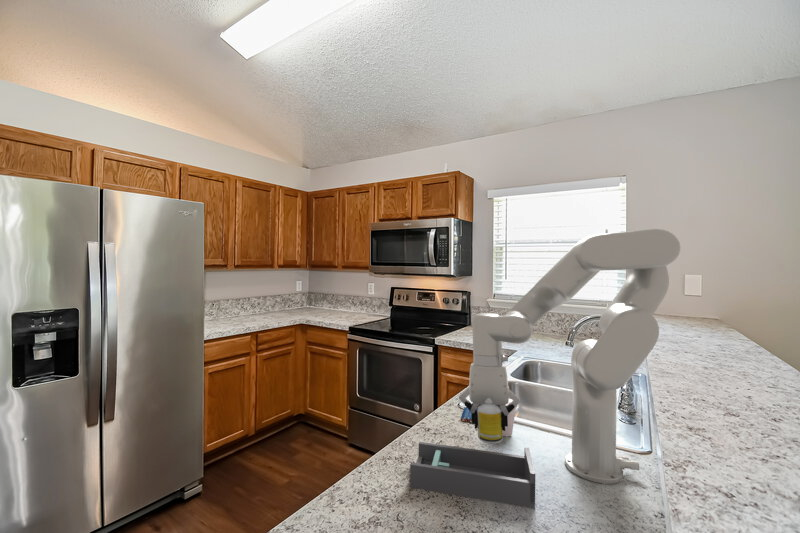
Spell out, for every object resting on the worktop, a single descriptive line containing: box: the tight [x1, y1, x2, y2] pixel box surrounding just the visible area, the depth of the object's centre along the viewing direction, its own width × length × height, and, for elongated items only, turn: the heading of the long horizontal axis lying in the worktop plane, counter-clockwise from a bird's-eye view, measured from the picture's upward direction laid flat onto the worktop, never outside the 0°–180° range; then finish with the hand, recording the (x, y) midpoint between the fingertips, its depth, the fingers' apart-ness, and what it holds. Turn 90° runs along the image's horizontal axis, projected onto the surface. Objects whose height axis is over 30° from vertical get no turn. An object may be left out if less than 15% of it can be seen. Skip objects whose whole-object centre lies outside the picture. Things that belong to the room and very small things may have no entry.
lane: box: [409, 441, 536, 510], centre depth 80 cm, size 26×11×7 cm, turn 76°
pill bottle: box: [477, 398, 504, 445], centre depth 94 cm, size 6×6×12 cm
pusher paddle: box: [432, 450, 449, 468], centre depth 82 cm, size 4×8×3 cm, turn 166°
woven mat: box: [460, 406, 477, 423], centre depth 117 cm, size 10×11×2 cm
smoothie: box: [502, 386, 518, 438], centre depth 105 cm, size 6×6×14 cm
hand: (489, 427), depth 94 cm, fingers closed on pill bottle, 6 cm apart
